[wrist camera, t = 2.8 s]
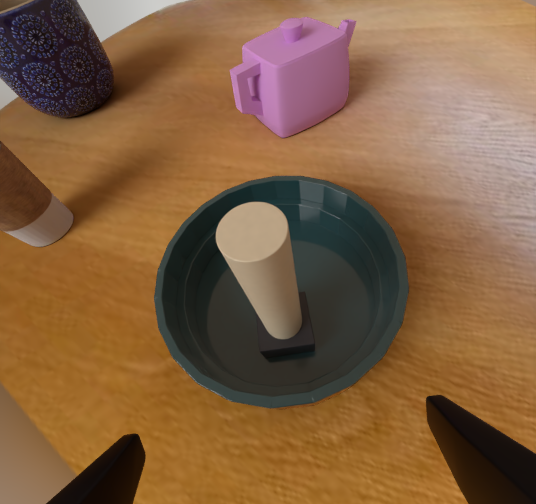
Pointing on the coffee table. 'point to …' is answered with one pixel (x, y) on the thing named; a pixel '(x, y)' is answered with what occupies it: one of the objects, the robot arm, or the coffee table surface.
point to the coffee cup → (29, 204)
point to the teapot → (294, 74)
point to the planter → (53, 57)
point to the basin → (309, 281)
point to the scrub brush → (267, 276)
